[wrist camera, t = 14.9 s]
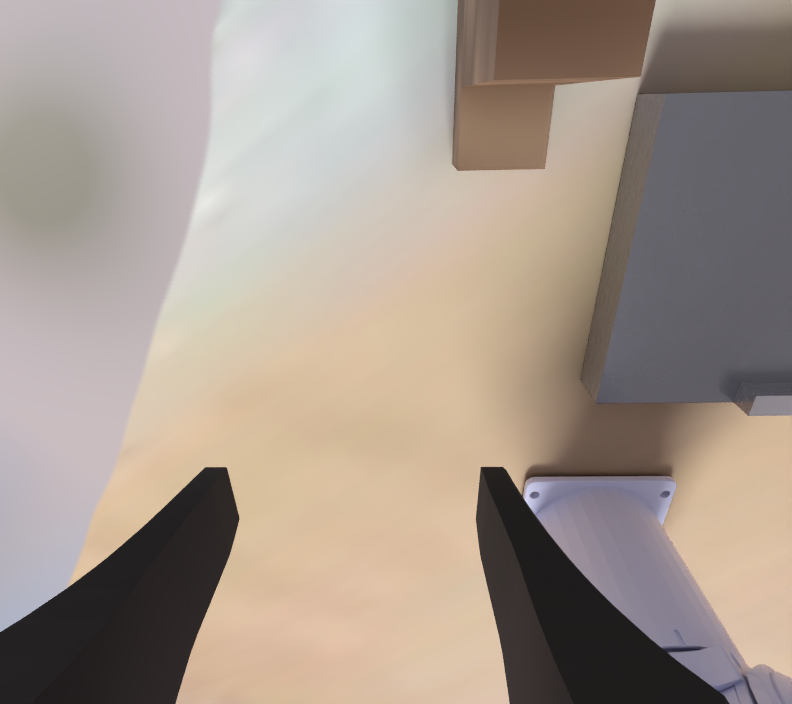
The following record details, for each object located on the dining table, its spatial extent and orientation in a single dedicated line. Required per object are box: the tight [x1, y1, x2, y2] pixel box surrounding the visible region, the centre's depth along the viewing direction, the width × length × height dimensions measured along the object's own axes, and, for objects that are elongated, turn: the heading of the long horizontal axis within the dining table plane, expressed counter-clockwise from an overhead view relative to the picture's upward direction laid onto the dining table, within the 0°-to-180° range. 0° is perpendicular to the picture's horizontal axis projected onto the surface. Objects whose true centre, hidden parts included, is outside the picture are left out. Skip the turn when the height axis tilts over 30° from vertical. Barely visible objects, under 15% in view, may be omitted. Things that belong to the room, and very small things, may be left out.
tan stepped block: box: [452, 0, 656, 171], centre depth 12 cm, size 8×3×8 cm, turn 1°
